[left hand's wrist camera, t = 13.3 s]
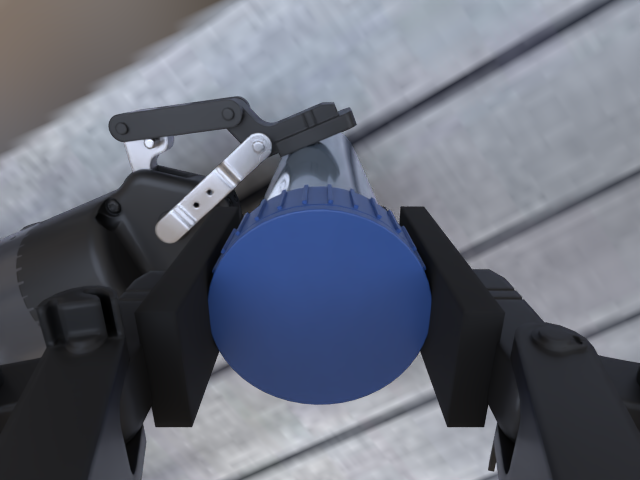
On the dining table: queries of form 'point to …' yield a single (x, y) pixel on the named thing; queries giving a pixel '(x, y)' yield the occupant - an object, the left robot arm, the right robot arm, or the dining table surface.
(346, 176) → the blue-grey bottle
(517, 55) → the dining table surface
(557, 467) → the left robot arm
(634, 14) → the dining table surface
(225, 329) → the lid
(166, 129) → the right robot arm
